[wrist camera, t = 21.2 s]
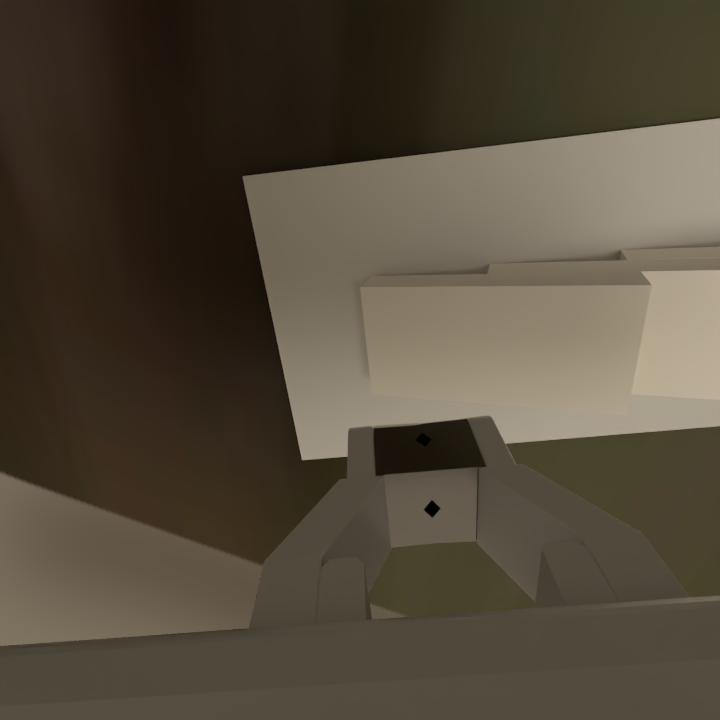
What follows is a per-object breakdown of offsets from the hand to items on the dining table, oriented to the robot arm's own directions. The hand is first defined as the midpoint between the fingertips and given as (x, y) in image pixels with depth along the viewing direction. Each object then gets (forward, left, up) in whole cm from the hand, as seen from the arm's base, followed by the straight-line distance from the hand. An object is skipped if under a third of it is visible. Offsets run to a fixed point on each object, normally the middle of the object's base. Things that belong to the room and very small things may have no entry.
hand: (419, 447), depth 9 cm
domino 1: (-1, -2, -10) cm, 10 cm away
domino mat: (+9, -2, -11) cm, 14 cm away
